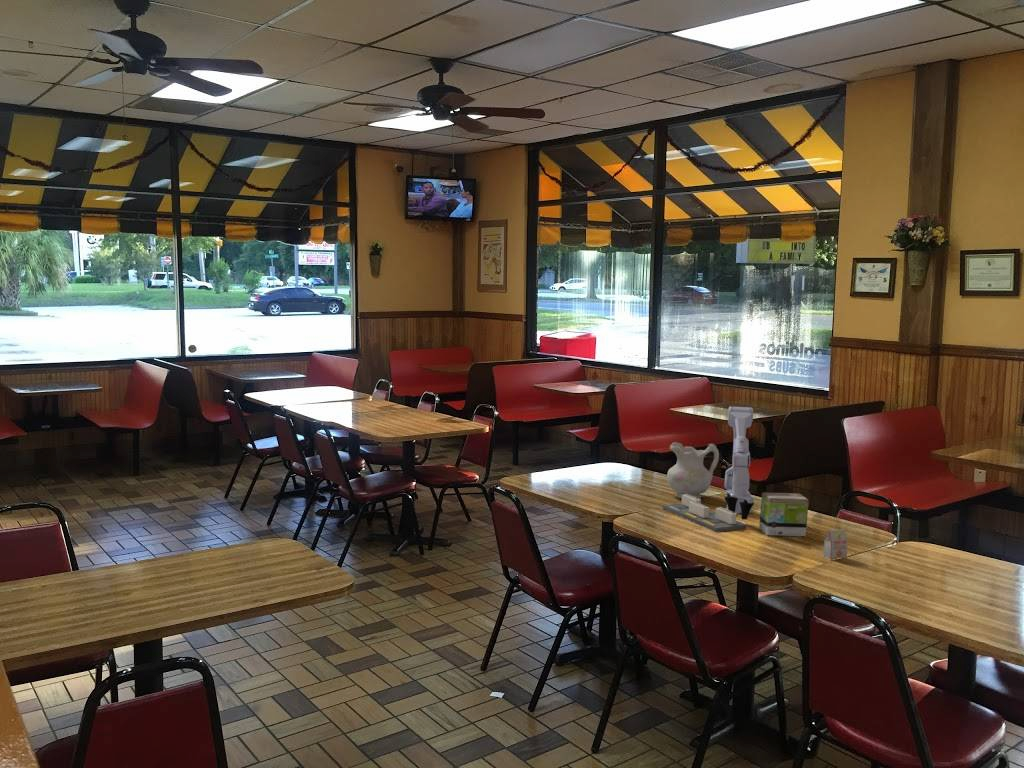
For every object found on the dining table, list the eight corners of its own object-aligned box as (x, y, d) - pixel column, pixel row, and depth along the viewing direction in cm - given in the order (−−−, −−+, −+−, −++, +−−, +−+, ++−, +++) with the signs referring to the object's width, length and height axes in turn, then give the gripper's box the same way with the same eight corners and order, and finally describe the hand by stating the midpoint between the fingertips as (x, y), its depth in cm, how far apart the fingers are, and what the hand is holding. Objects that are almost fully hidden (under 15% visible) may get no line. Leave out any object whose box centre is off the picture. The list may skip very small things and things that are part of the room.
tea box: (767, 536, 324) (769, 498, 322) (758, 529, 334) (761, 491, 332) (806, 537, 324) (809, 498, 323) (797, 529, 334) (799, 492, 333)
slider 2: (693, 511, 351) (694, 500, 351) (708, 517, 342) (709, 506, 342) (688, 511, 350) (689, 500, 350) (703, 517, 341) (704, 506, 341)
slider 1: (686, 503, 364) (686, 492, 363) (700, 509, 354) (701, 498, 354) (681, 504, 363) (682, 493, 362) (695, 509, 353) (696, 498, 353)
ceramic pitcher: (709, 495, 392) (710, 440, 392) (722, 502, 373) (723, 445, 372) (662, 494, 391) (663, 440, 390) (673, 502, 372) (674, 444, 371)
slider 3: (720, 517, 343) (720, 506, 342) (736, 523, 334) (736, 512, 333) (715, 517, 342) (715, 506, 341) (731, 524, 333) (731, 512, 332)
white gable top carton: (823, 557, 300) (825, 529, 299) (839, 555, 302) (841, 528, 301) (830, 560, 297) (831, 532, 296) (846, 559, 299) (848, 530, 298)
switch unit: (691, 506, 367) (691, 502, 367) (746, 528, 334) (746, 523, 334) (662, 508, 361) (662, 504, 361) (715, 531, 328) (715, 527, 328)
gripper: (720, 479, 343) (718, 513, 345) (743, 487, 330) (741, 522, 332) (734, 478, 346) (732, 511, 348) (758, 486, 333) (756, 520, 335)
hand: (738, 516), depth 340 cm, fingers open, 7 cm apart
